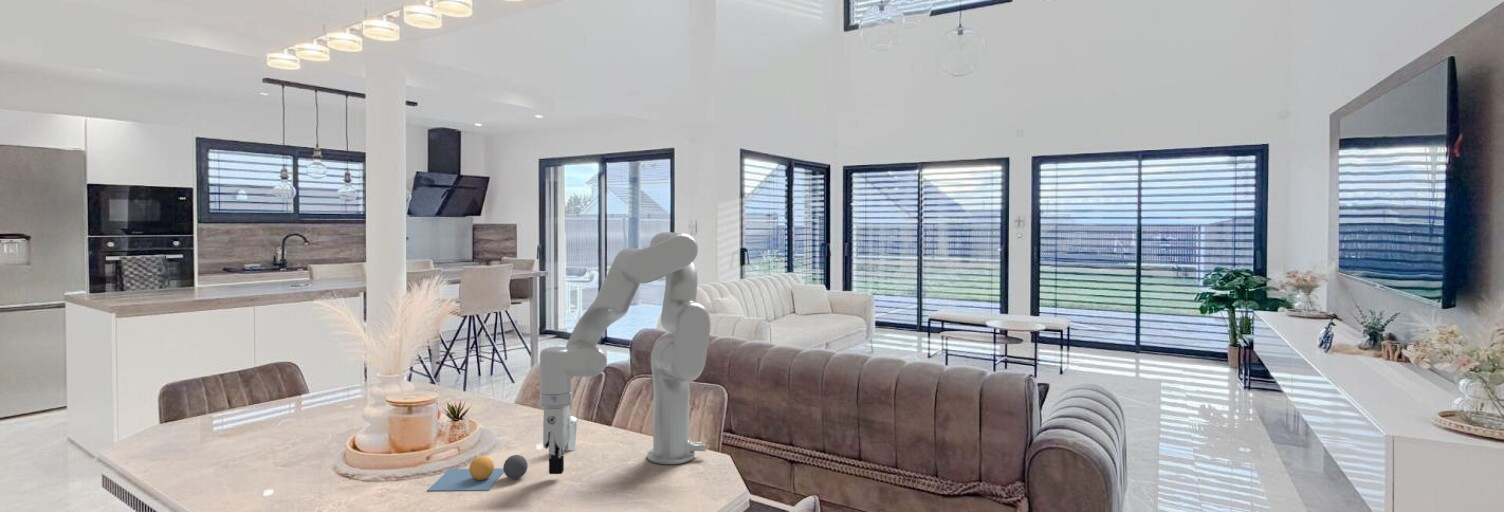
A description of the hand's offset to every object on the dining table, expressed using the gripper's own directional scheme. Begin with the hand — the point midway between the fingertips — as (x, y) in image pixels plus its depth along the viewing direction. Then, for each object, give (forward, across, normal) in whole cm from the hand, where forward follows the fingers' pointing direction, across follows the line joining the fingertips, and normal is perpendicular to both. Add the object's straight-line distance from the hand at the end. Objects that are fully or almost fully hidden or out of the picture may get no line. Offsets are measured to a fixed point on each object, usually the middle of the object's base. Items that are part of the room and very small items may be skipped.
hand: (556, 472), depth 171 cm
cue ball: (-1, +1, +10) cm, 10 cm away
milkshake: (+2, +22, +1) cm, 22 cm away
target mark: (+2, 0, +21) cm, 21 cm away
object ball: (-1, 0, +18) cm, 18 cm away
